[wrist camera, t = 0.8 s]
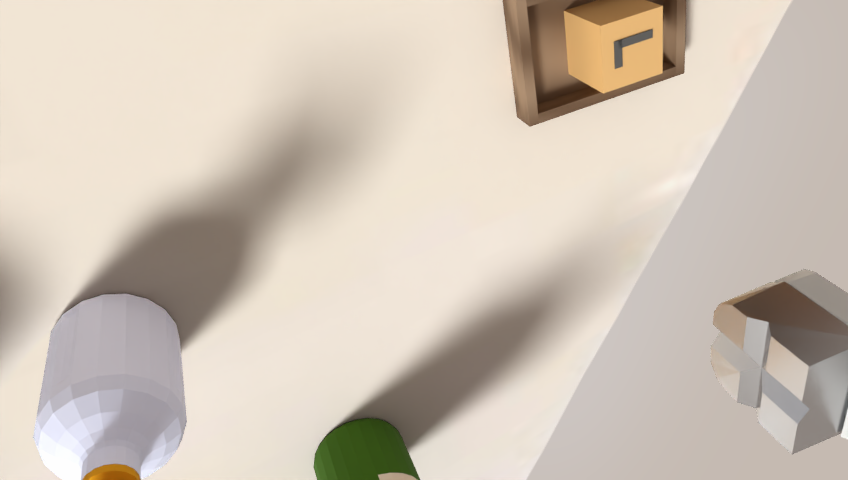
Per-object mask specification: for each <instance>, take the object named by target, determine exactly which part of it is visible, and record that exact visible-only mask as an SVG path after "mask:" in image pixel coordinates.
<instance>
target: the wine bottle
mask: <svg viewBox="0 0 848 480" xmlns="http://www.w3.org/2000/svg"><path fill="white" fill-rule="evenodd" d="M314 470H315V473H316V477H317V480H420V478H419V476H418V474H417V471H416V469H415V467H414V465H413V462H412V460H411V458H410V455H409V453H408V451H407V448H406V446H405V444H404V442H403V439H402V437H401V435H400V434H399V432H398V430H397V429H396V428H395V427H393V426H392V425H391V424H389V423H388V422H386V421H383V420H380V419H374V418H365V419H357V420H354V421H351V422H348V423H345V424H343V425H341V426H340V427H338V428H336V429H334V430H333V431H332V432H331V433H330V434H328V435H327V436H326V437H325V438H324V440H323V441H322V442H321V443H320V445H319V447H318V449H317V451H316V453H315V460H314Z"/></svg>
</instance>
